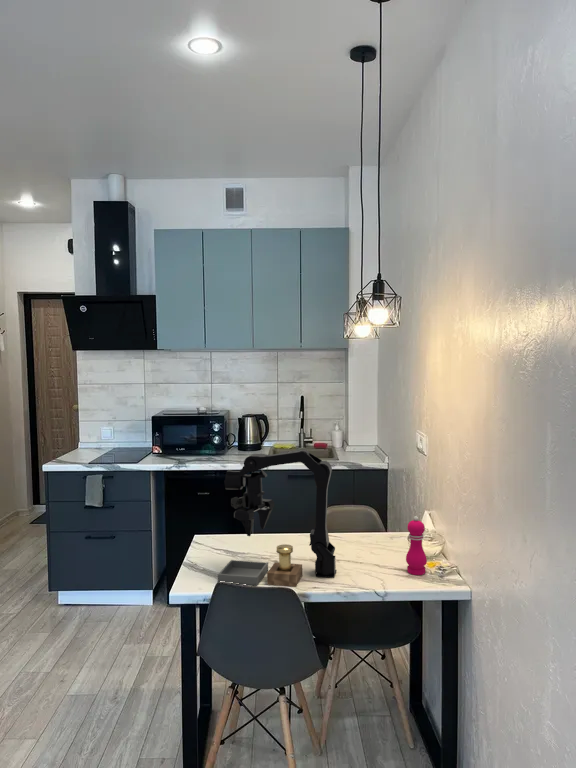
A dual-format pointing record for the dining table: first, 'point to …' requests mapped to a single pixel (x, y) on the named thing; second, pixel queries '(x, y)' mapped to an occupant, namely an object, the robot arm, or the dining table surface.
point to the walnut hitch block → (284, 575)
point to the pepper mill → (416, 548)
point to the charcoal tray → (243, 572)
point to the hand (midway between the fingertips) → (255, 532)
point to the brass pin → (285, 557)
